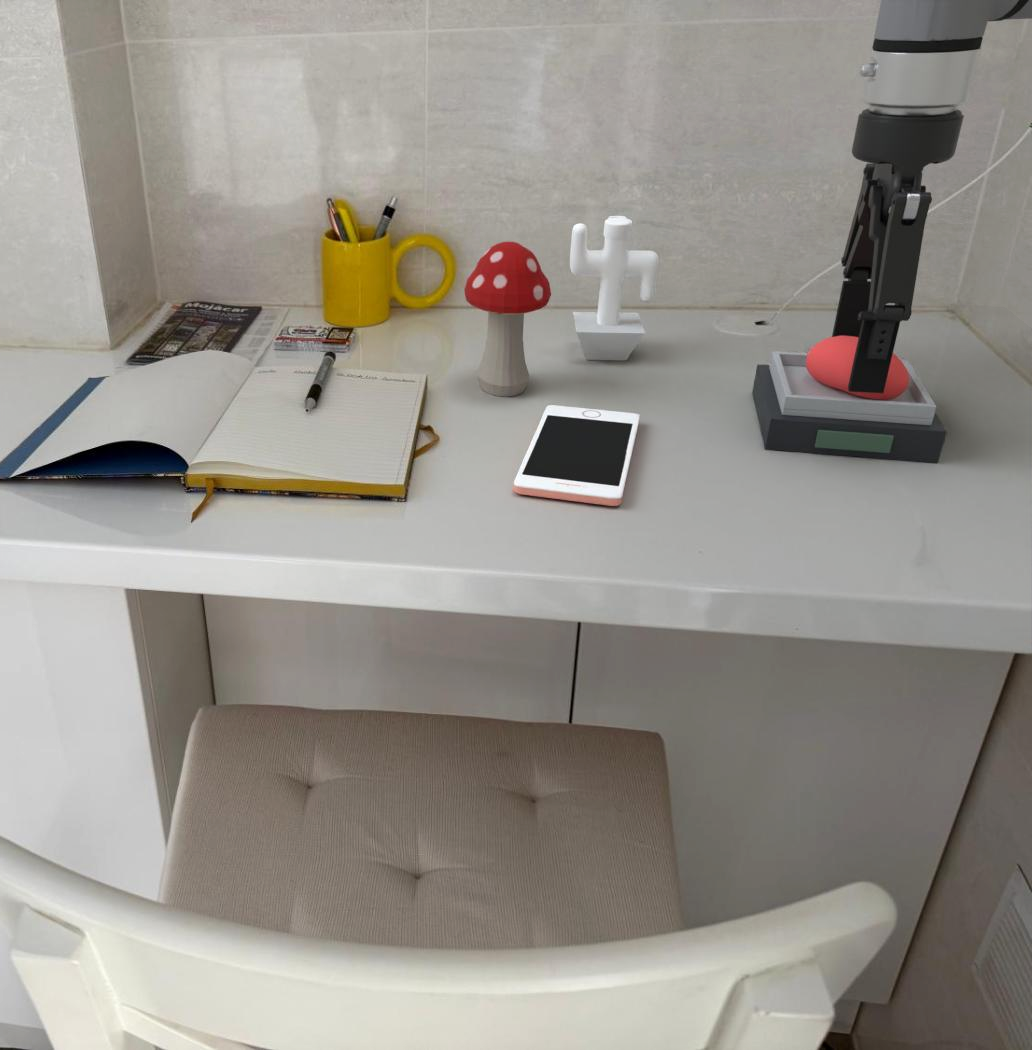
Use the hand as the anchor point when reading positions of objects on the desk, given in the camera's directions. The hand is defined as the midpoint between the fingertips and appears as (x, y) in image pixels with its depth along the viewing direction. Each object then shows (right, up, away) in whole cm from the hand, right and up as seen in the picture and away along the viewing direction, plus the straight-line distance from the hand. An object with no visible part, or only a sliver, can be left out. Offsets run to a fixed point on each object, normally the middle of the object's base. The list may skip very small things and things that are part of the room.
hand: (855, 369), depth 91 cm
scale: (0, -5, +3) cm, 6 cm away
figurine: (-17, +5, +22) cm, 28 cm away
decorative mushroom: (-30, 0, +14) cm, 33 cm away
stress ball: (0, -2, +1) cm, 2 cm away
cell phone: (-26, -8, -1) cm, 27 cm away
